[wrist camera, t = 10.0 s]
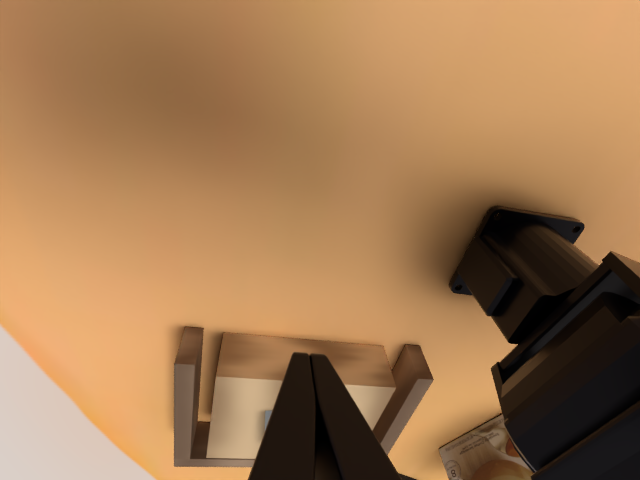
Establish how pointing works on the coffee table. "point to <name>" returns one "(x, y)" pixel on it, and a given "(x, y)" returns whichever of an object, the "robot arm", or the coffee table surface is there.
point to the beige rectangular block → (266, 378)
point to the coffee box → (484, 455)
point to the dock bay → (193, 447)
